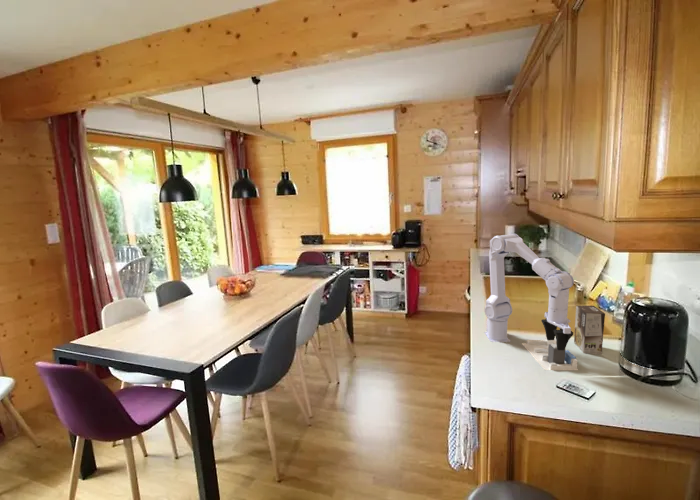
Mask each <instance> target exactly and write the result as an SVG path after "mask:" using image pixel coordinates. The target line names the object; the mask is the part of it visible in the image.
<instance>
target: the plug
mask: <svg viewBox="0 0 700 500" xmlns="http://www.w3.org/2000/svg"><path fill="white" fill-rule="evenodd" d="M548 362H549V363H556V364H564V363H565V350H558V349H557V344H549V348H548Z"/></svg>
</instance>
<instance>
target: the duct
mask: <svg viewBox="0 0 700 500" xmlns="http://www.w3.org/2000/svg"><path fill="white" fill-rule="evenodd" d="M521 344H522V346H523V347H524V348H525V349H526V350H527V352H528V353H529V354H531V356H532V357H533V359H535V361H536V363H538V364H539V366H540V367H542V369H543V370H544V371H579V369H578V359H577V356H575V355H574V354H573V353H572V352H570V350H569V349H568V350H567V349H566V348H565V363H564V364H556V363H549V362H548V348H549V344H556V338H555V339H554V340H547V337H546V336H545V339H527V340H526V342H521Z"/></svg>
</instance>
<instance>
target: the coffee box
mask: <svg viewBox="0 0 700 500" xmlns="http://www.w3.org/2000/svg"><path fill="white" fill-rule="evenodd" d="M605 316H606V313H605V312H604V311H602V310H601V309H599V308H598V307H596V306H595V305H576V306H575V320H574V321H575V323H574V335H573V336H574V337H573V338H574V340H573V344H574V345H575V346H576V347H577V348H578V349H579V350H580V351H581V352H582V353H583V354H590V355H591V354H593V355H595V354H596V355H598V354H599V355H602V353H603V344H604V343H603V342H604V341H603V340H604V333H605V332H604V330H605V322H606V321H605V319H606V317H605Z"/></svg>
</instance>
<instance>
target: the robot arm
mask: <svg viewBox="0 0 700 500" xmlns="http://www.w3.org/2000/svg"><path fill="white" fill-rule="evenodd" d="M509 253H515V254H517V255H518V256H520V258H522V259H524V261H526V262H528V263H529V264H530V265H531V269H532V271H534V272H535V273H536V274H537V275H538V276H539V277H540V278H542V280H544V281H545V285H546V287H547V289H548V292H547V293H548V307H547V308H548V309H547V311H545V312H544V319H541V323H542V325H543V327H544V332H545V338H546V337H547V340H554V339H555V340H556V344H557V349H558V350H565V349H566V348H567V344H568V342H569V341H570V339H571V338H572V337H573V336H574V332H573V331H572V328H571V327H570V325H569V323H571V320H570V319H569V318H568V313H569V312H568V310H569V309H568V308H569V295H570V289H571V288H572V287H573V285H574V283H575V281H574V278H573V276H572V274H571V273H570V272H569V271H564V270H563V271H562V270H561V269H560V268H558V267H556V265H554V264H553V263H552V262H551V260H550V259H549V258H546V257H539V256H538V255H537V254H536V253H535V252H534V251H533V250H532V249H531V248H530V247H528V245H527V244H526V243H524V240H523V238H522V237H520V236H519V235H518V234H517V233H509V234H502V235H494V236H493V237H492V238H491V239H490V240H489V251H488V262H489V280H490V295H489V297H488V298H487V299H486V300H485V307H484V315H485V316H486V317H487V319H486V331H484V332H483V333H484V335H485V336H486V337H487V339H488V340H489V341H490V342H492V343H493V342H495V343H499V342H500V343H501V342H502V343H503V342H505V343H506V342H507V343H508V342H511V339H510V338H509V337H508V322H509V321H508V319H510V316H511V315H512V313H513V306H512V304H511V299H510V298H509V297H508V296H507V295H506V277H505V275H506V274H505V257H506V256H507V255H508V254H509ZM558 328H559V329H558Z"/></svg>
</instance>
